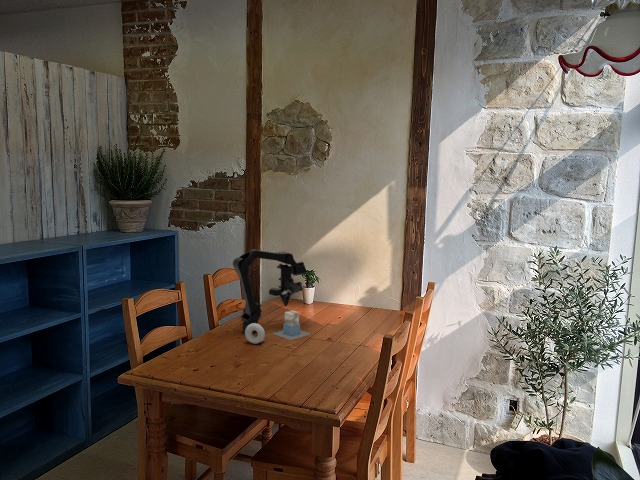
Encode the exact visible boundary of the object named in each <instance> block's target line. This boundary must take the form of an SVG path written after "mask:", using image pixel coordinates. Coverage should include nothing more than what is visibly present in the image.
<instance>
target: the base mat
mask: <svg viewBox="0 0 640 480" xmlns="http://www.w3.org/2000/svg"><path fill="white" fill-rule="evenodd" d="M271 334H272V335H276V336H278V337H281V338H284V339H287V340H290V341H293V340H297V339H299V338H300V339H301V338H302V337H306V336H309V335H311V333H310V332H307V331H304V330H301V329H300V334H298V335H294V336H289V335H286V334H283V329H282V330H279V331H277V332H272V333H271Z"/></svg>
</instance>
